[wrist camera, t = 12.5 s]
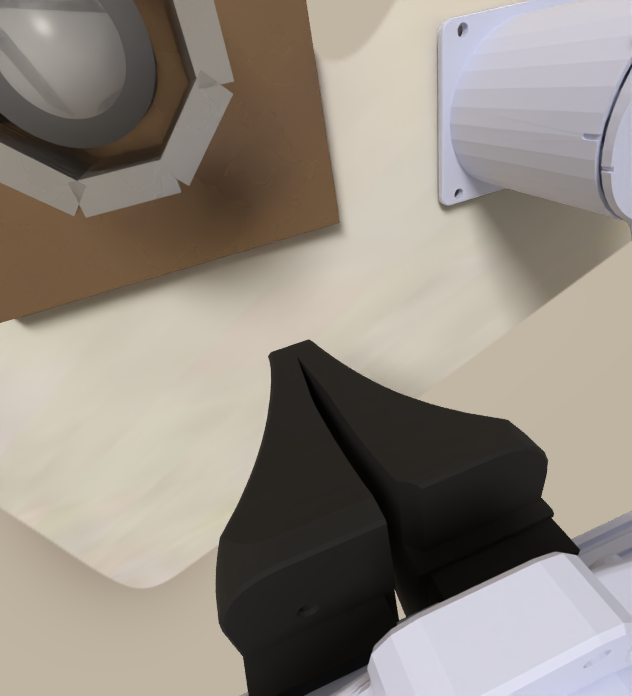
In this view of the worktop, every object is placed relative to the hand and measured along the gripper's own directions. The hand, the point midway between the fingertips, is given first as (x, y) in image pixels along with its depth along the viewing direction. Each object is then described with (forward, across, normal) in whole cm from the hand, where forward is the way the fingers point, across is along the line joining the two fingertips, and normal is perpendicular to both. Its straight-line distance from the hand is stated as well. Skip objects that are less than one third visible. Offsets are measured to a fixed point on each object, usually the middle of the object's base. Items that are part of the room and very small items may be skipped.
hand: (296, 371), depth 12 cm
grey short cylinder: (+9, +3, -9) cm, 13 cm away
